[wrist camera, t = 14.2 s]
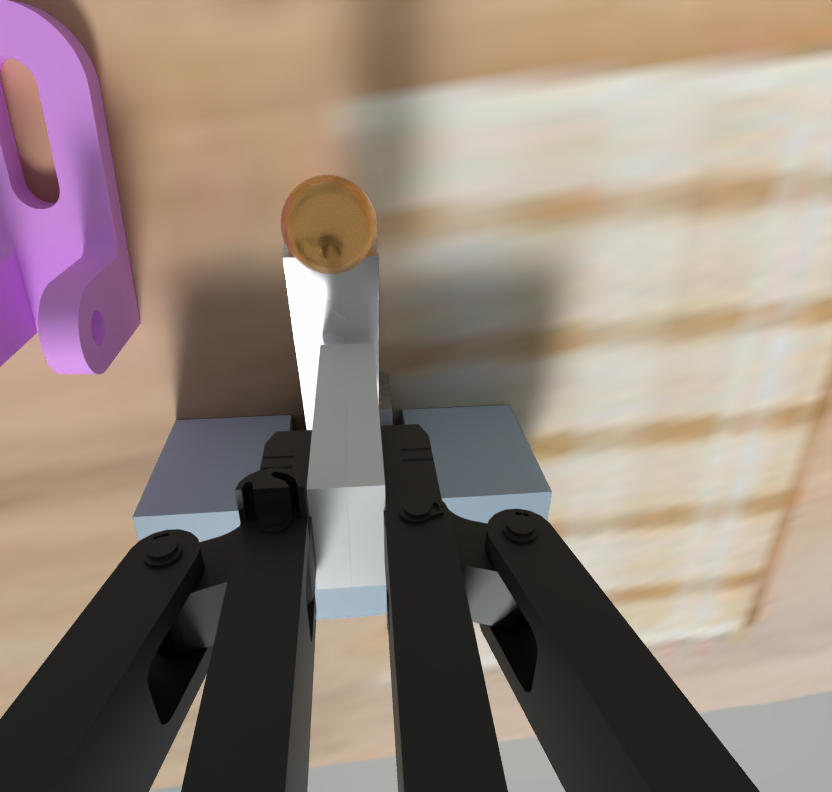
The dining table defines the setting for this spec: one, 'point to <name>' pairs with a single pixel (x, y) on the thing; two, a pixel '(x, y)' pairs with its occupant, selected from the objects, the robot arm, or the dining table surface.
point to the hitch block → (246, 436)
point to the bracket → (62, 211)
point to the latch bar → (330, 273)
